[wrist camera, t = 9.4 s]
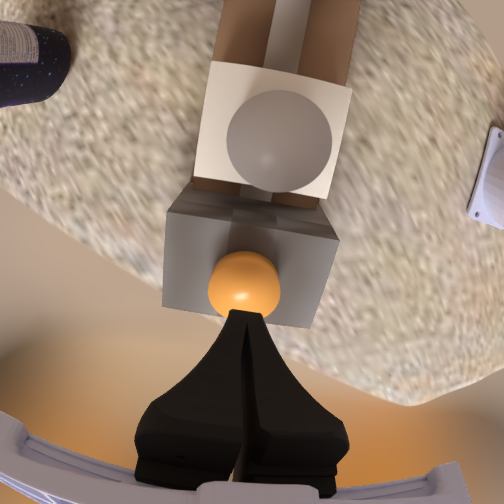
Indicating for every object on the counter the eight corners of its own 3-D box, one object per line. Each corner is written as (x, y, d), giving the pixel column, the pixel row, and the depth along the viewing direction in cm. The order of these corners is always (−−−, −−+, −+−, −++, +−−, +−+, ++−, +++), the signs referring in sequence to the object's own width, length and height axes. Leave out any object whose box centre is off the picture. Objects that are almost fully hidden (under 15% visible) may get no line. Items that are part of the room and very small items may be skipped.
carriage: (337, 90, 16) (392, 86, 9) (316, 184, 19) (352, 238, 12) (218, 67, 16) (191, 43, 9) (202, 164, 18) (168, 207, 11)
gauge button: (282, 241, 18) (287, 268, 15) (270, 294, 19) (271, 326, 17) (218, 231, 18) (212, 256, 15) (211, 285, 19) (204, 316, 16)
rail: (369, -50, 13) (403, -87, 7) (298, 277, 24) (310, 332, 19) (241, -77, 12) (236, -125, 6) (181, 259, 24) (160, 310, 18)
